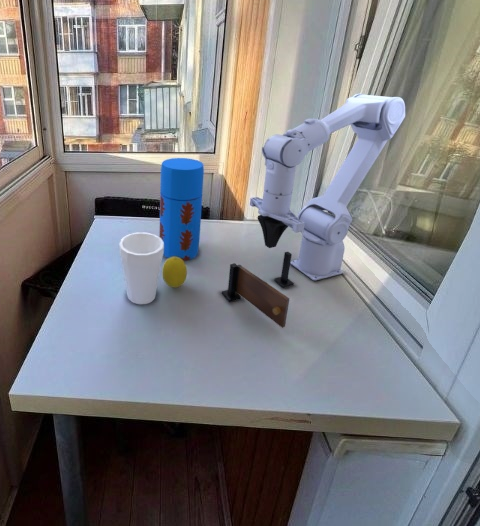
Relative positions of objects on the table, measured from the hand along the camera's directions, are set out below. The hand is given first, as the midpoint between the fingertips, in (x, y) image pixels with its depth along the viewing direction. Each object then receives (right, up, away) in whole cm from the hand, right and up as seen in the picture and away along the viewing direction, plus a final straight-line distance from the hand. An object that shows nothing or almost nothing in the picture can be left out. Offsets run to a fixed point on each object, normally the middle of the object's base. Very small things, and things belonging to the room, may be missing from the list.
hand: (270, 246), depth 76 cm
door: (-6, -11, -7) cm, 15 cm away
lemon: (-22, -10, +1) cm, 24 cm away
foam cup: (-30, -11, -2) cm, 31 cm away
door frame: (-3, -10, 0) cm, 10 cm away
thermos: (-19, -5, +16) cm, 25 cm away
